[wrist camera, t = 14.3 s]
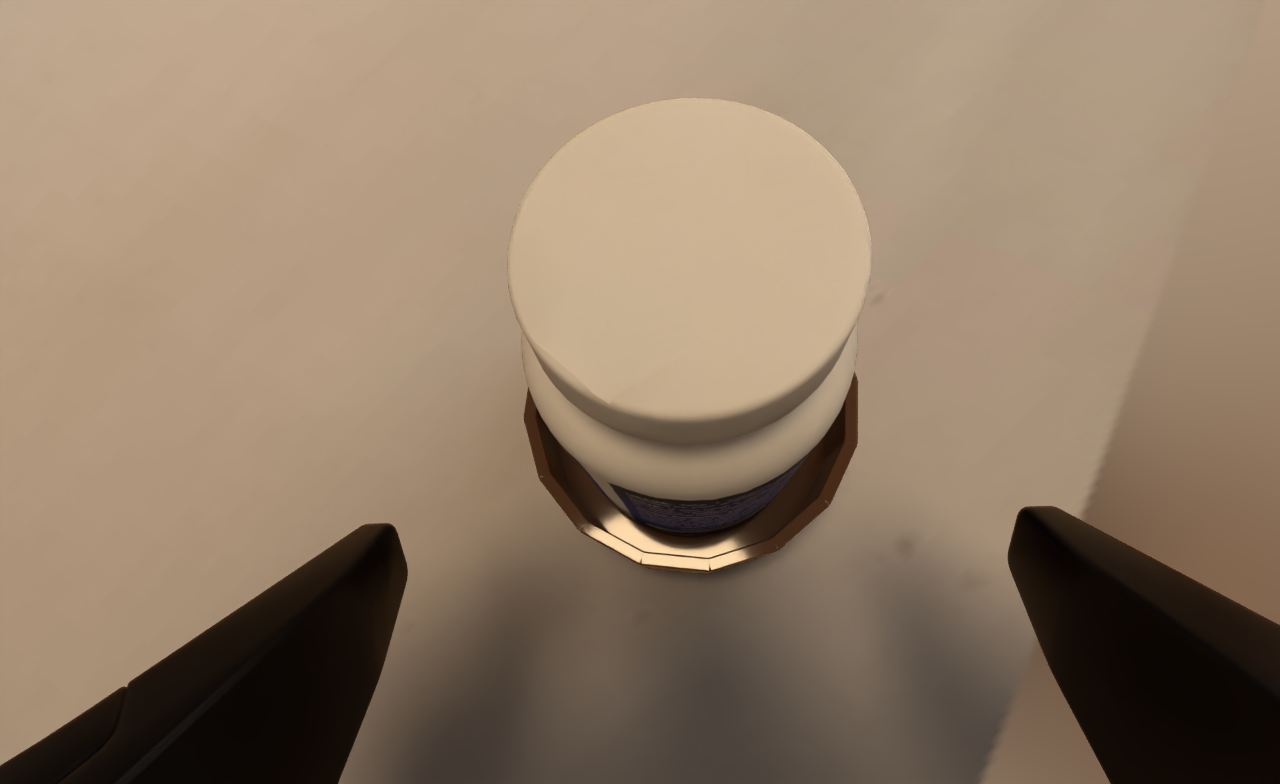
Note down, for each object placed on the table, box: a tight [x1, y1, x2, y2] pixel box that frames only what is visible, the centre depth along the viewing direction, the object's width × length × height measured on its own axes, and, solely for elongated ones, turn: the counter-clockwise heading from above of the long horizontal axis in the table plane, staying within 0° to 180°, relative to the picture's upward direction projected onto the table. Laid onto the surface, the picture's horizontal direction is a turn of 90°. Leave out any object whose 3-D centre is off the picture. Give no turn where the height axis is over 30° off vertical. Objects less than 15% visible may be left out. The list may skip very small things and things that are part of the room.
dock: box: [524, 372, 858, 574], centre depth 17 cm, size 8×8×3 cm
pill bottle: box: [507, 98, 872, 536], centre depth 13 cm, size 6×6×10 cm
